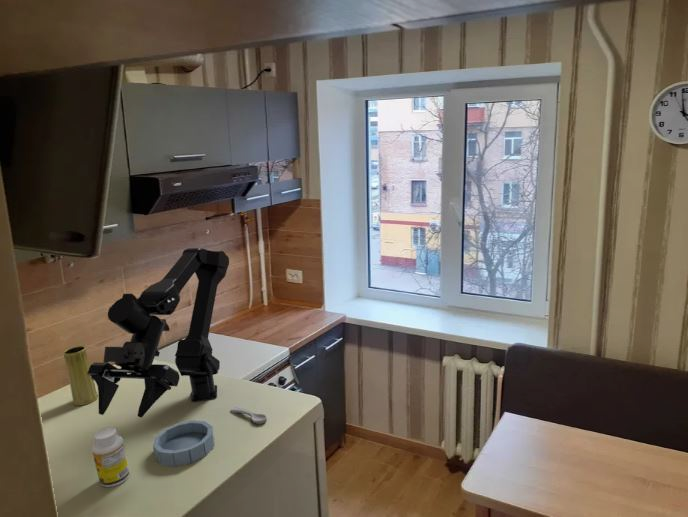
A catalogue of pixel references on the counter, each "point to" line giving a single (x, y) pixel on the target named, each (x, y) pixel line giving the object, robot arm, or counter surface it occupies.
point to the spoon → (255, 417)
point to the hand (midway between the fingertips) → (119, 415)
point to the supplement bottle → (110, 457)
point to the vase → (80, 376)
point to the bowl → (183, 443)
